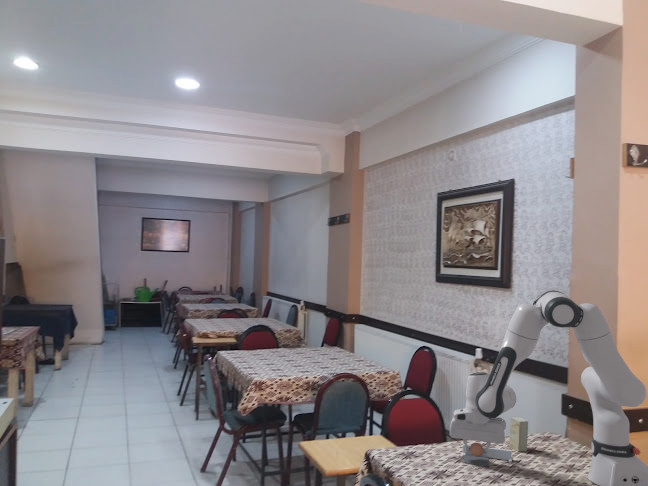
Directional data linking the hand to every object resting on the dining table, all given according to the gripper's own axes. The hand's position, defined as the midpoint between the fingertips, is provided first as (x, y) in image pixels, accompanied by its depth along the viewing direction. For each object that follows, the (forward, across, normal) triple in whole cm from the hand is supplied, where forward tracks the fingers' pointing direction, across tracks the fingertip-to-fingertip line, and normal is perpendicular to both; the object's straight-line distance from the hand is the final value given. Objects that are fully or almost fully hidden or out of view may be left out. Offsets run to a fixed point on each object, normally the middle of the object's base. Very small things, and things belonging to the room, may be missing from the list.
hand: (476, 452), depth 196 cm
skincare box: (+3, -17, -20) cm, 27 cm away
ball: (+2, 0, 0) cm, 2 cm away
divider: (+3, -4, -6) cm, 8 cm away
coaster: (+3, 0, 0) cm, 3 cm away
